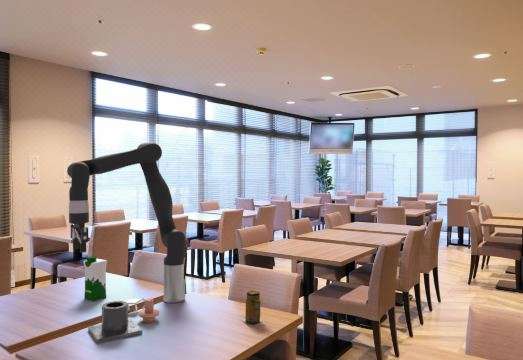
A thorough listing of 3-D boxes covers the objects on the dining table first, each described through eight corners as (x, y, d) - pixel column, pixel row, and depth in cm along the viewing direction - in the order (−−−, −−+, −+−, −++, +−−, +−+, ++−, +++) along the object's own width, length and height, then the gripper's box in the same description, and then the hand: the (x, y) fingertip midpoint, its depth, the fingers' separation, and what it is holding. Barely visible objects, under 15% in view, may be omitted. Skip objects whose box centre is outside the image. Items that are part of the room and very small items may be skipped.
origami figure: (130, 317, 175) (131, 305, 175) (117, 313, 180) (117, 302, 180) (152, 309, 186) (152, 298, 185) (138, 306, 190) (138, 295, 190)
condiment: (256, 317, 177) (257, 289, 177) (266, 324, 170) (266, 294, 169) (240, 320, 174) (241, 291, 174) (249, 327, 167) (249, 296, 166)
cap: (155, 316, 177) (155, 295, 177) (162, 321, 171) (162, 301, 171) (136, 319, 173) (136, 299, 173) (142, 325, 166) (142, 304, 166)
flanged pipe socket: (130, 322, 169) (130, 296, 169) (142, 334, 158) (142, 306, 158) (88, 330, 160) (88, 303, 160) (97, 343, 149) (97, 314, 149)
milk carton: (81, 299, 199) (81, 256, 198) (97, 294, 206) (97, 253, 206) (92, 302, 194) (93, 259, 193) (109, 297, 202) (109, 255, 201)
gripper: (94, 212, 169) (95, 252, 170) (82, 209, 180) (82, 247, 180) (75, 213, 164) (75, 254, 165) (63, 210, 175) (64, 249, 175)
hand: (79, 250), depth 173 cm, fingers open, 8 cm apart
